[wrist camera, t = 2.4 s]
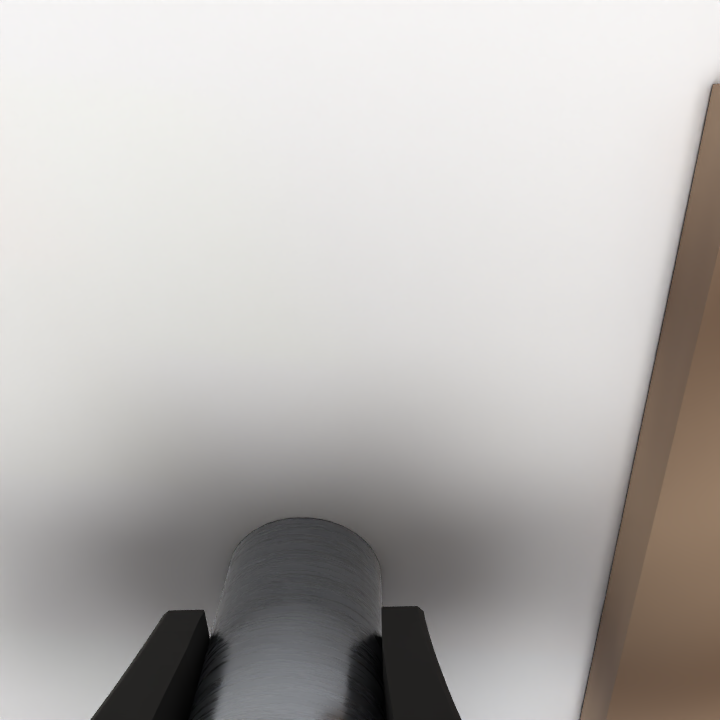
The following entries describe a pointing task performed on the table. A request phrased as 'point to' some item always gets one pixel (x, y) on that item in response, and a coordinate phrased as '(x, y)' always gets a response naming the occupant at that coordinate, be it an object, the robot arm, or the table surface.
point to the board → (673, 498)
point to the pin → (296, 629)
